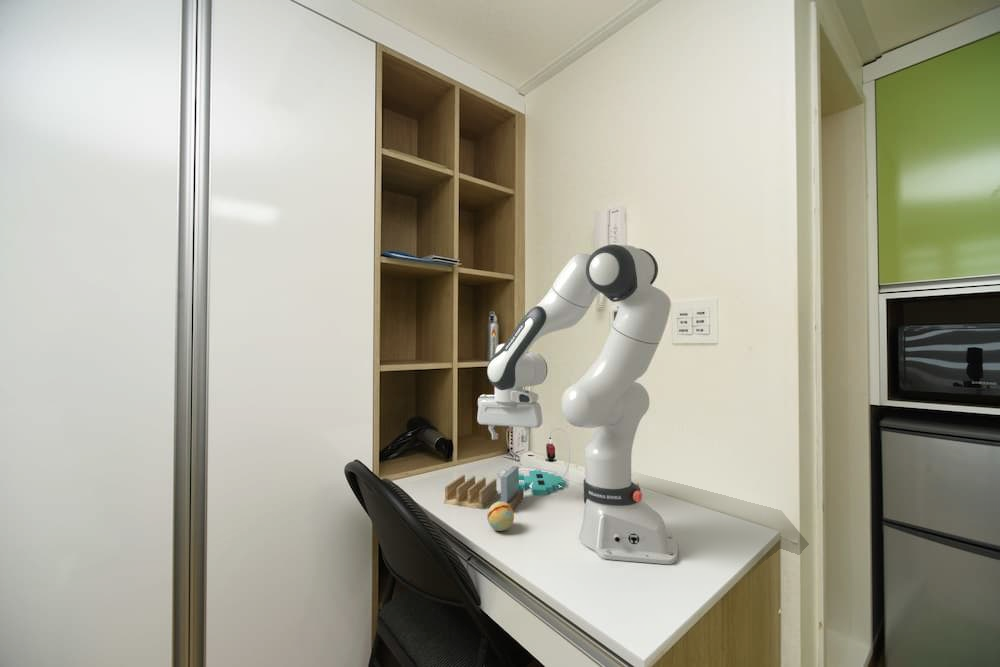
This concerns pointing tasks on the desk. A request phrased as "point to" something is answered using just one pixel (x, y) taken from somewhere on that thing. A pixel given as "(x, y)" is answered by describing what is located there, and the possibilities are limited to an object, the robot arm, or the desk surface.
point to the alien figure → (540, 482)
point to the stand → (516, 499)
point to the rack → (470, 492)
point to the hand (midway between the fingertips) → (509, 440)
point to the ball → (500, 516)
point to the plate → (510, 484)
